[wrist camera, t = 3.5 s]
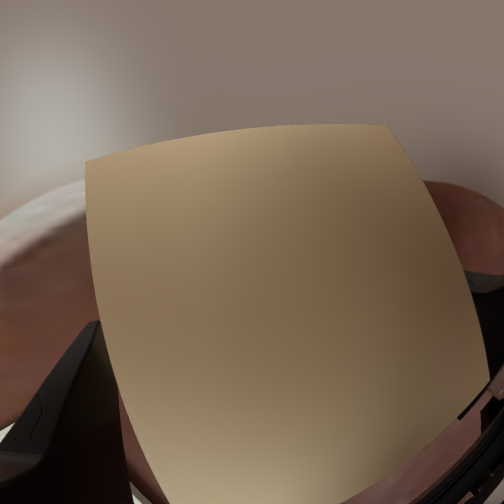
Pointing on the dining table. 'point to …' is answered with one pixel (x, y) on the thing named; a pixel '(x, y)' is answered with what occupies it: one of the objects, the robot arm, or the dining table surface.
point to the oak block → (279, 310)
